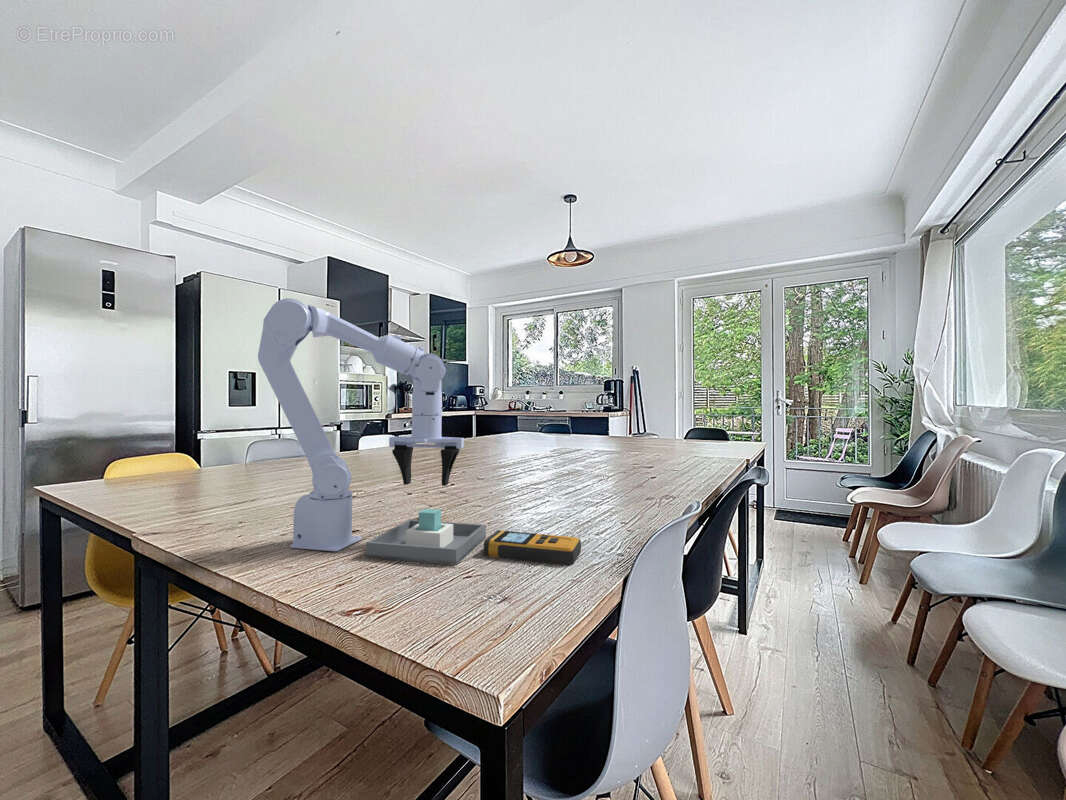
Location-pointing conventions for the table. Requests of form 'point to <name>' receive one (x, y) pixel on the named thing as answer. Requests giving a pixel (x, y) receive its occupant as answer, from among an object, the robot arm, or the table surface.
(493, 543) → the electronic device
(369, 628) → the table surface
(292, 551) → the table surface
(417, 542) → the socket box
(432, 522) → the plug peg
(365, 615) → the table surface
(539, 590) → the table surface
